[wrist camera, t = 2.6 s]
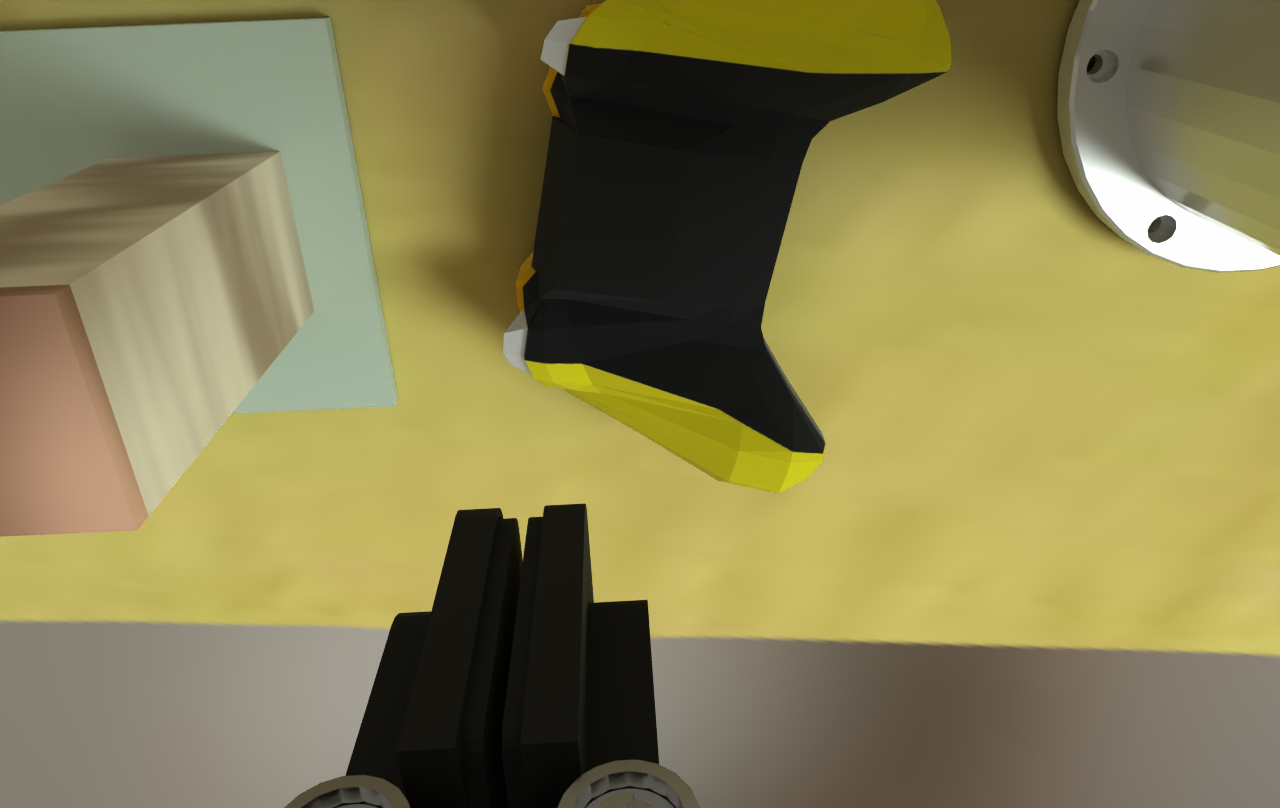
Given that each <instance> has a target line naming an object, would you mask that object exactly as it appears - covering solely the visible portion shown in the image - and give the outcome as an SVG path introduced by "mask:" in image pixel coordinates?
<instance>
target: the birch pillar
mask: <svg viewBox="0 0 1280 808" xmlns="http://www.w3.org/2000/svg"><path fill="white" fill-rule="evenodd" d="M313 312H314V307H313V303H312V298H311V293H310V289H309V284H308V279H307V275H306V270H305V265H304V261H303V256H302V251H301V247H300V242H299V237H298V233H297V228H296V223H295V219H294V214H293V209H292V204H291V200H290V195H289V190H288V186H287V181H286V176H285V172H284V167H283V162H282V158H281V153H280V151H274V152H250V153H226V154H202V155H178V156H154V157H130V158H109V159H106V160H104V161H102V162H99V163H97V164H95V165H92V166H90V167H88V168H85V169H83V170H81V171H79V172H76V173H74V174H72V175H69V176H67V177H65V178H62V179H60V180H58V181H55V182H53V183H51V184H49V185H46V186H44V187H42V188H39V189H37V190H35V191H32V192H30V193H28V194H25V195H23V196H21V197H19V198H16V199H14V200H12V201H9V202H7V203H5V204H2V205H0V536H21V535H44V534H67V533H90V532H113V531H135V530H138V529H139V528H140V526H141V525H142V524H143V523H144V521H145V520H146V519H147V518H148V516H149V515H150V514H151V513H152V512H153V510H154V509H155V508H156V507H157V505H158V504H159V503H160V502H161V500H162V499H163V498H164V497H165V495H166V494H167V493H168V492H169V490H170V489H171V488H172V487H173V486H174V484H175V483H176V482H177V481H178V479H179V478H180V477H181V476H182V474H183V473H184V472H185V471H186V469H187V468H188V467H189V466H190V464H191V463H192V462H193V461H194V460H195V458H196V457H197V456H198V455H199V453H200V452H201V451H202V450H203V448H204V447H205V446H206V445H207V443H208V442H209V441H210V440H211V438H212V437H213V436H214V435H215V434H216V432H217V431H218V430H219V429H220V427H221V426H222V425H223V424H224V422H225V421H226V420H227V419H228V417H229V416H230V415H231V414H232V413H233V411H234V410H235V409H236V408H237V406H238V405H239V404H240V403H241V401H242V400H243V399H244V398H245V396H246V395H247V394H248V393H249V391H250V390H251V389H252V388H253V387H254V385H255V384H256V383H257V382H258V380H259V379H260V378H261V377H262V375H263V374H264V373H265V372H266V370H267V369H268V368H269V367H270V365H271V364H272V363H273V362H274V361H275V359H276V358H277V357H278V356H279V354H280V353H281V352H282V351H283V349H284V348H285V347H286V346H287V344H288V343H289V342H290V341H291V339H292V338H293V337H294V336H295V335H296V333H297V332H298V331H299V330H300V328H301V327H302V326H303V325H304V323H305V322H306V321H307V320H308V318H309V317H310V316H311V315H312V313H313Z"/></svg>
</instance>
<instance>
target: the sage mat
mask: <svg viewBox="0 0 1280 808" xmlns="http://www.w3.org/2000/svg"><path fill="white" fill-rule="evenodd" d="M274 151H280V153H281V158H282V162H283V167H284V172H285V176H286V181H287V186H288V190H289V195H290V200H291V204H292V209H293V214H294V219H295V223H296V228H297V233H298V237H299V242H300V247H301V251H302V256H303V261H304V265H305V270H306V275H307V279H308V284H309V289H310V293H311V298H312V303H313V307H314V312H313V313H312V315H311V316H310V317H309V318H308V320H307V321H306V322H305V323H304V325H303V326H302V327H301V328H300V330H299V331H298V332H297V333H296V335H295V336H294V337H293V338H292V339H291V341H290V342H289V343H288V344H287V346H286V347H285V348H284V349H283V351H282V352H281V353H280V354H279V356H278V357H277V358H276V359H275V361H274V362H273V363H272V364H271V365H270V367H269V368H268V369H267V370H266V372H265V373H264V374H263V375H262V377H261V378H260V379H259V380H258V382H257V383H256V384H255V385H254V387H253V388H252V389H251V390H250V391H249V393H248V394H247V395H246V396H245V398H244V399H243V400H242V401H241V403H240V404H239V405H238V406H237V408H236V409H235V410H234V411H233V413H253V412H276V411H299V410H322V409H345V408H368V407H392V406H395V405H396V403H397V401H398V396H397V391H396V385H395V379H394V374H393V368H392V362H391V357H390V351H389V345H388V340H387V334H386V329H385V323H384V317H383V312H382V306H381V300H380V295H379V289H378V283H377V278H376V272H375V266H374V261H373V255H372V250H371V244H370V238H369V233H368V227H367V221H366V216H365V210H364V204H363V199H362V193H361V187H360V182H359V176H358V171H357V165H356V159H355V154H354V148H353V142H352V137H351V131H350V125H349V120H348V114H347V108H346V103H345V97H344V92H343V86H342V80H341V75H340V69H339V63H338V58H337V52H336V46H335V41H334V35H333V29H332V24H331V18H330V17H328V18H304V19H280V20H255V21H231V22H206V23H182V24H158V25H133V26H109V27H84V28H60V29H36V30H11V31H0V205H2V204H5V203H7V202H9V201H12V200H14V199H16V198H19V197H21V196H23V195H25V194H28V193H30V192H32V191H35V190H37V189H39V188H42V187H44V186H46V185H49V184H51V183H53V182H55V181H58V180H60V179H62V178H65V177H67V176H69V175H72V174H74V173H76V172H79V171H81V170H83V169H85V168H88V167H90V166H92V165H95V164H97V163H99V162H102V161H104V160H106V159H109V158H130V157H154V156H178V155H202V154H226V153H250V152H274Z"/></svg>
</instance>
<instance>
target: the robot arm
mask: <svg viewBox="0 0 1280 808" xmlns="http://www.w3.org/2000/svg"><path fill="white" fill-rule="evenodd" d="M1093 56H1095V64H1094V67H1093V68H1092V69H1091V70H1090V71H1087V65H1088V63H1089V60H1090V58H1092V57H1093ZM1057 119H1058V125H1059V131H1060V137H1061V143H1062V149H1063V155H1064V158H1065V160H1066V163H1067V165H1068V167H1069V170H1070V172H1071V175H1072V177H1073V180H1074V182H1075V185H1076V187H1077V189H1078V191H1079V192H1080V194H1081V195H1082V196H1083V198H1084V199H1085V201H1086V202H1087V204H1088V205H1089V206H1090V208H1091V209H1092V211H1093V212H1094V213H1095V215H1096V216H1097V217H1098V218H1099V219H1100V220H1101V221H1102V222H1104V223H1105V224H1106V225H1107V226H1108V227H1109V228H1110V229H1112V230H1113V231H1114V232H1115V233H1116V234H1117V235H1119V236H1120V237H1121V238H1122V239H1124V240H1125V241H1127V242H1129V243H1130V244H1132V245H1134V246H1135V247H1137V248H1138V249H1140V250H1142V251H1144V252H1145V253H1147V254H1149V255H1151V256H1154V257H1157V258H1159V259H1162V260H1164V261H1167V262H1170V263H1172V264H1175V265H1178V266H1180V267H1184V268H1191V269H1198V270H1204V271H1211V272H1218V273H1219V272H1243V271H1258V270H1263V269H1267V268H1272V267H1277V266H1280V0H1079V3H1078V5H1077V8H1076V10H1075V13H1074V15H1073V18H1072V21H1071V23H1070V26H1069V28H1068V32H1067V36H1066V41H1065V46H1064V51H1063V55H1062V60H1061V65H1060V70H1059V74H1058V105H1057ZM1152 221H1153V222H1152ZM1151 222H1152V224H1151V225H1150V223H1151ZM1149 225H1150V226H1149ZM284 808H700V806H699V804H698V802H697V800H696V798H695V796H694V794H693V792H692V790H691V788H690V787H689V786H688V785H687V784H686V783H685V782H684V781H683V780H682V779H681V778H680V777H679V776H678V775H677V774H676V773H675V772H673V771H671V770H669V769H667V768H665V767H663V766H661V765H659V756H658V742H657V728H656V714H655V700H654V686H653V672H652V657H651V644H650V629H649V615H648V602H647V600H637V601H618V602H600V603H594V600H593V587H592V573H591V560H590V547H589V533H588V520H587V509H586V504H569V505H550V506H545V507H544V513H543V517H530V518H529V519H528V526H527V534H526V542H525V549H524V557H523V560H522V551H521V542H520V534H519V526H518V521H517V519H516V518H510V519H503V515H502V511H501V509H500V508H492V509H473V510H459V511H457V514H456V517H455V521H454V525H453V529H452V533H451V537H450V541H449V545H448V549H447V553H446V557H445V561H444V564H443V568H442V572H441V576H440V580H439V584H438V588H437V592H436V596H435V600H434V604H433V608H432V612H413V613H399V614H398V615H397V616H396V617H395V619H394V621H393V623H392V626H391V629H390V632H389V636H388V639H387V642H386V645H385V649H384V652H383V655H382V659H381V662H380V665H379V668H378V671H377V675H376V678H375V681H374V685H373V688H372V691H371V694H370V697H369V701H368V704H367V707H366V711H365V714H364V717H363V720H362V723H361V727H360V730H359V733H358V737H357V740H356V743H355V746H354V750H353V753H352V756H351V760H350V763H349V766H348V770H347V773H346V776H342V777H339V778H335V779H332V780H329V781H326V782H322V783H319V784H318V785H316V786H314V787H312V788H310V789H309V790H307V791H305V792H303V793H302V794H300V795H298V796H297V797H296V798H295V799H294V800H292V801H291V802H290V803H289V804H288V805H287V806H285V807H284Z"/></svg>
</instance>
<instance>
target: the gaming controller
mask: <svg viewBox="0 0 1280 808" xmlns="http://www.w3.org/2000/svg"><path fill="white" fill-rule="evenodd" d="M540 60H542V61H543V62H545V63H546V64H548V65H549V66H550V68H549V71H548V73H547V76H546V79H545V81H544V84H543V86H542V90H543V93H544V95H545V98H546V101H547V103H548V106H549V108H550V111H551V114H552V117H553V119H552V126H551V133H550V140H549V147H548V154H547V161H546V168H545V175H544V182H543V189H542V196H541V203H540V210H539V217H538V224H537V231H536V238H535V245H534V251H533V252H532V254H531V255H530V256H529V257H528V258H527V259H526V260H525V261H524V263H523V264H522V265H521V266H520V269H519V273H518V276H517V280H516V284H515V287H516V297H517V305H518V309H519V312H520V314H519V315H518V316H517V317H516V319H515V320H514V321H513V322H512V324H511V325H510V326H509V327H508V329H507V330H506V331H505V332H504V341H503V354H504V355H505V357H506V358H507V360H508V362H509V363H510V365H513V366H515V367H517V368H519V369H521V370H523V371H525V372H527V373H529V374H531V375H532V376H533V378H534V379H535V380H536V381H538V382H539V383H541V384H542V385H544V386H545V387H554V388H563V389H564V390H566V391H567V392H569V393H570V394H572V395H574V396H576V397H577V398H579V399H581V400H583V401H585V402H586V403H588V404H590V405H592V406H593V407H595V408H597V409H599V410H600V411H602V412H604V413H606V414H607V415H609V416H611V417H613V418H614V419H616V420H618V421H620V422H621V423H623V424H625V425H627V426H628V427H630V428H632V429H634V430H635V431H637V432H639V433H640V434H642V435H644V436H645V437H647V438H649V439H650V440H652V441H654V442H655V443H657V444H659V445H660V446H662V447H664V448H665V449H667V450H668V451H670V452H672V453H673V454H675V455H677V456H678V457H680V458H682V459H683V460H685V461H687V462H688V463H690V464H691V465H693V466H695V467H696V468H698V469H700V470H701V471H703V472H705V473H706V474H708V475H709V476H711V477H713V478H714V479H716V480H718V481H721V482H726V483H731V484H735V485H740V486H745V487H750V488H755V489H759V490H764V491H769V492H775V493H780V492H782V491H784V490H786V489H787V488H789V487H791V486H793V485H795V484H797V483H799V482H801V481H802V480H804V479H806V478H808V477H809V476H810V475H811V474H812V473H813V472H814V471H815V470H816V468H817V467H818V466H819V464H820V463H821V462H822V460H823V456H824V449H825V441H824V438H823V435H822V433H821V431H820V429H819V428H818V426H817V425H816V423H815V422H814V420H813V418H812V417H811V415H810V414H809V412H808V411H807V409H806V407H805V406H804V404H803V403H802V401H801V400H800V398H799V397H798V395H797V393H796V392H795V390H794V389H793V387H792V386H791V384H790V383H789V381H788V379H787V378H786V376H785V374H784V373H783V371H782V369H781V367H780V366H779V364H778V362H777V360H776V359H775V357H774V355H773V353H772V352H771V350H770V348H769V346H768V345H767V343H766V341H765V339H764V338H763V334H762V330H761V323H762V317H763V311H764V305H765V300H766V297H767V293H768V289H769V285H770V282H771V278H772V274H773V270H774V267H775V263H776V259H777V256H778V252H779V248H780V244H781V241H782V237H783V233H784V230H785V226H786V222H787V218H788V215H789V211H790V207H791V203H792V200H793V196H794V192H795V189H796V185H797V181H798V177H799V174H800V170H801V166H802V163H803V160H804V158H805V155H806V152H807V150H808V147H809V145H810V142H811V140H812V138H813V137H814V136H815V135H816V134H817V133H818V132H819V131H820V130H821V129H823V128H824V127H825V126H826V125H827V124H828V123H829V122H830V121H832V120H834V119H837V118H840V117H843V116H845V115H848V114H851V113H854V112H856V111H859V110H862V109H865V108H867V107H870V106H873V105H876V104H878V103H881V102H884V101H886V100H888V99H890V98H892V97H894V96H897V95H899V94H901V93H903V92H905V91H907V90H910V89H912V88H914V87H916V86H918V85H920V84H922V83H925V82H927V81H929V80H931V79H933V78H935V77H938V76H940V75H942V74H944V73H946V72H948V70H949V69H950V67H951V65H952V63H951V42H950V34H949V31H948V28H947V25H946V23H945V20H944V17H943V14H942V11H941V8H940V6H939V4H938V3H937V1H936V0H605V1H604V2H603V3H598V4H590V5H586V6H585V8H584V9H583V11H582V13H581V15H580V16H579V18H574V19H567V20H559V21H557V23H556V24H555V25H554V27H553V28H552V30H551V31H550V32H549V34H548V35H547V36H546V38H545V40H544V45H543V49H542V54H541V59H540Z"/></svg>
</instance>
